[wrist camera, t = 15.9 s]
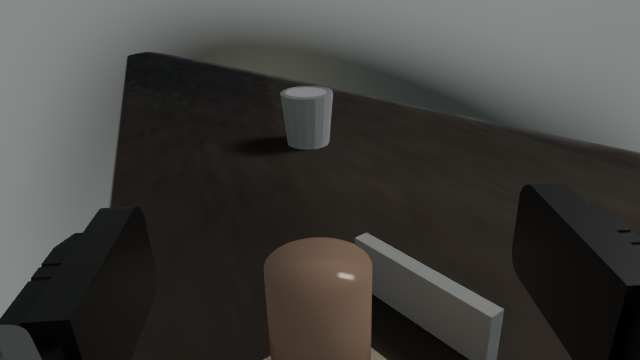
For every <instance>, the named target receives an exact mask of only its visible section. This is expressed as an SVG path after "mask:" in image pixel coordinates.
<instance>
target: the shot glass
mask: <svg viewBox="0 0 640 360" xmlns="http://www.w3.org/2000/svg"><path fill="white" fill-rule="evenodd" d="M280 94H281V101H282V108H283V114H284V121H285V128H286V135H287V142H288V145H289V146H291V147H292V148H296V149H304V150H309V149H318V148H322V147H324V146H326V145H328V143H329V137H330V124H331V111H332V99H333V91H332V90H331V89H328V88H325V87H319V86H300V87H293V88H288V89H285V90H283V91H282V92H281V93H280Z"/></svg>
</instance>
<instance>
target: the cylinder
mask: <svg viewBox="0 0 640 360" xmlns="http://www.w3.org/2000/svg"><path fill="white" fill-rule="evenodd" d="M264 279H265V291H266V303H267V315H268V328H269V340H270V352H271V360H371V317H372V261H371V259H370V257H369V255H368V254H367V253H366V252H365V251H364V250H363V249H361V248H360V247H358V246H356V245H354V244H352V243H350V242H347V241H344V240H339V239H334V238H307V239H301V240H297V241H293V242H290V243H288V244H285V245H283V246H281V247H279V248H278V249H276V250H275V251H274V252H272V253H271V254H270V255H269V257H268V258H267V260H266V262H265V264H264Z"/></svg>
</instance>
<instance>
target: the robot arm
mask: <svg viewBox="0 0 640 360" xmlns="http://www.w3.org/2000/svg"><path fill="white" fill-rule="evenodd" d="M512 259H513V265H514V269H515V272H516V274H517V276H518V278H519V280H520V281H521V283H522V284H523V286H524V287H525V289H526V290H527V292H528V293H529V295H530V296H531V298H532V299H533V301H534V302H535V304H536V305H537V307H538V308H539V310H540V311H541V313H542V314H543V316H544V317H545V319H546V320H547V322H548V323H549V325H550V326H551V328H552V329H553V331H554V332H555V334H556V335H557V337H558V338H559V340H560V341H561V343H562V344H563V346H564V347H565V349H566V350H567V352H568V353H569V355H570V356H571V358H572V359H573V360H640V238H639V237H638V236H637V235H636V234H635V233H631V232H630V229H629V228H628V227H627V226H626V225H624V224H623V223H622V222H621V221H620V220H619V219H618V218H616V217H615V216H614V215H612V214H610V213H608V212H606V211H604V210H602V209H600V208H598V207H596V206H594V205H592V204H587V203H586V202H585V201H583V200H582V199H581V198H580V197H579V196H578V195H577V194H576V193H575V192H573V191H572V190H571V189H570V188H569V187H568V186H567V185H566V184H564V183H546V184H529V185H525V186H524V187H523V188H522V190H521V193H520V197H519V204H518V211H517V218H516V225H515V232H514V239H513V246H512ZM155 291H156V271H155V266H154V261H153V256H152V251H151V247H150V242H149V237H148V232H147V228H146V223H145V218H144V215H143V212H142V210H141V208H140V207H138V206H133V207H116V208H101V209H100V210H99V211H98V212H97V214H96V215H95V216H94V218H93V219H92V221H91V222H90V223H89V225H88V226H87V228H86V229H85V231H84V232H83V233H75V234H73V235H72V236H70V237H69V238H68V239H66V240H65V241H63V242H62V243H60V244H59V245H57V246H56V247H55V248H53V250H52V251H51V252H50V254H49V255H48V257H47V258H46V259H45V260H44V262H43V263H42V267H40V268H38V270H37V271H36V272H35V273H34V275H33V276H32V278H31V281H30V282H28V283H27V284H26V285H25V287H24V288H23V289H22V291H21V292H20V293H19V295H18V296H17V297H16V299H15V300H14V301H13V303H12V304H11V305H10V307H9V308H8V309H7V310H6V312H5V313H4V314H3V316H2V317H1V318H0V360H131V358H132V356H133V353H134V350H135V348H136V345H137V342H138V340H139V337H140V334H141V332H142V329H143V326H144V324H145V321H146V319H147V316H148V313H149V311H150V308H151V305H152V303H153V300H154V296H155Z"/></svg>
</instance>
